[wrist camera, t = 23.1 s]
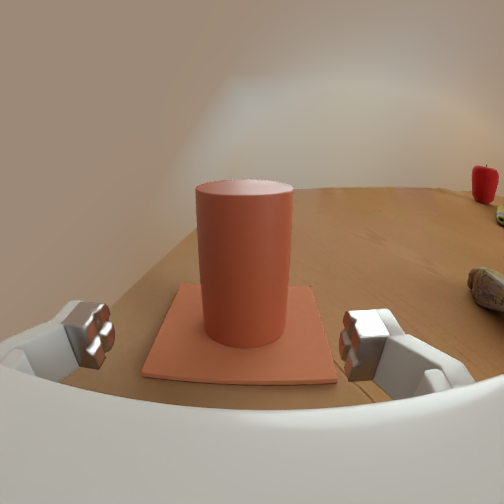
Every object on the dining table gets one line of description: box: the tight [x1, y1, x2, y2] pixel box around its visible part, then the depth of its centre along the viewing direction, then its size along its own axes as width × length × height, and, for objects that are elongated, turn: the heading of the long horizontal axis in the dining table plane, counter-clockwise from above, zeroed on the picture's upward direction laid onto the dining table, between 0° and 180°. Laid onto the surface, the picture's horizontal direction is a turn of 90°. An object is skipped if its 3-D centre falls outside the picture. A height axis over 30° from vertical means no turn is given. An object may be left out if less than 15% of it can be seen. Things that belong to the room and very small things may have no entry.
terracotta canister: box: [196, 179, 293, 348], centre depth 20 cm, size 6×6×10 cm
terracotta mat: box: [141, 284, 338, 385], centre depth 22 cm, size 12×12×1 cm
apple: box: [472, 165, 499, 204], centre depth 78 cm, size 11×10×14 cm
